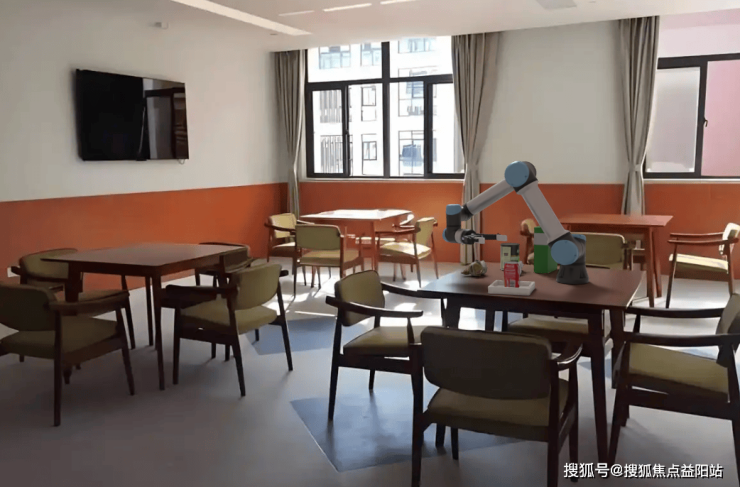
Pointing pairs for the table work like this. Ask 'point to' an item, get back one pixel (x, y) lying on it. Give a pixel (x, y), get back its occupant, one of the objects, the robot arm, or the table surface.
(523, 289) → the tray
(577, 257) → the robot arm
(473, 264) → the ceramic sculpture
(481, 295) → the table surface
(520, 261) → the elephant figurine
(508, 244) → the coffee can
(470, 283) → the table surface
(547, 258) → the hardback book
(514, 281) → the soda can
